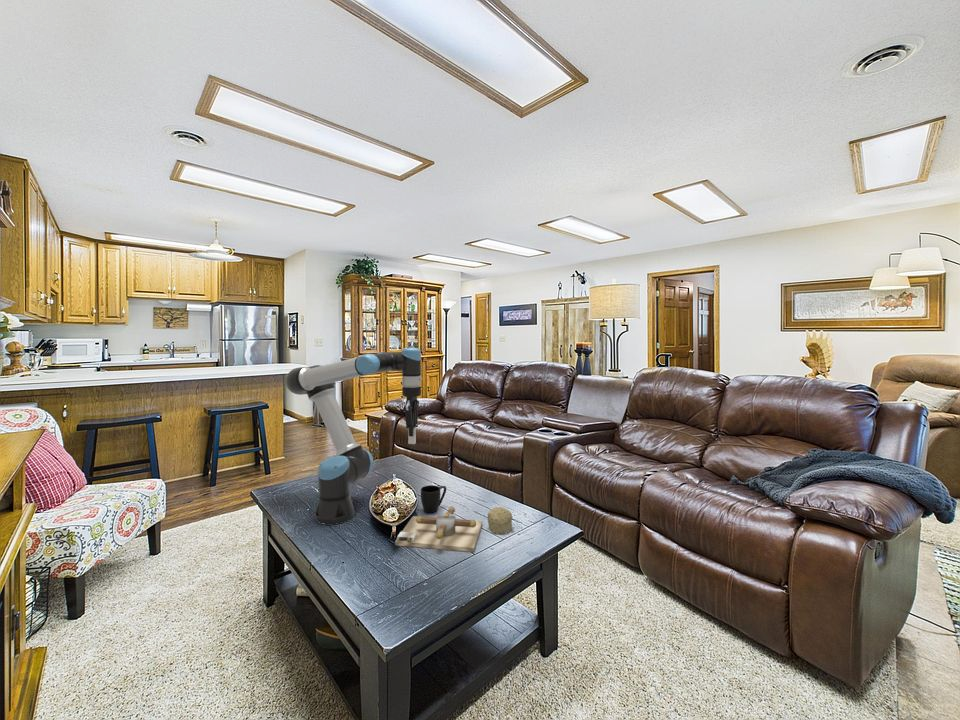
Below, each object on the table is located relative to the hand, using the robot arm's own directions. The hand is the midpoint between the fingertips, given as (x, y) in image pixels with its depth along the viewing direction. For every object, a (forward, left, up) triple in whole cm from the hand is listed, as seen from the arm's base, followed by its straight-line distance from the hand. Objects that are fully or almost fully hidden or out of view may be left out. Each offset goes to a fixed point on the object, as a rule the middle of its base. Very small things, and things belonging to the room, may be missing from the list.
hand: (412, 443), depth 168 cm
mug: (+8, +5, -30) cm, 31 cm away
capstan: (+18, -16, -28) cm, 37 cm away
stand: (+16, -16, -29) cm, 37 cm away
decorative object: (+37, -7, -30) cm, 48 cm away
